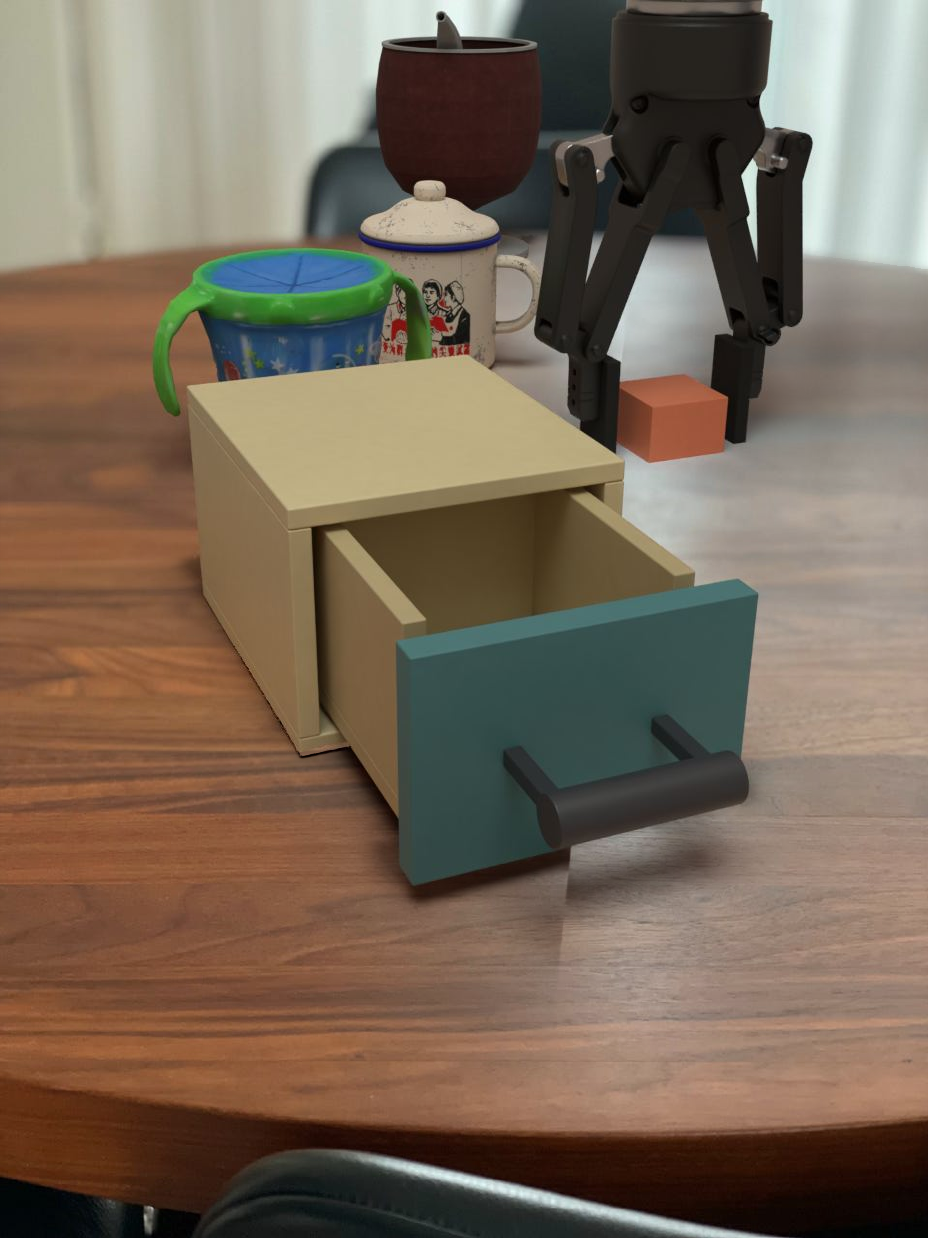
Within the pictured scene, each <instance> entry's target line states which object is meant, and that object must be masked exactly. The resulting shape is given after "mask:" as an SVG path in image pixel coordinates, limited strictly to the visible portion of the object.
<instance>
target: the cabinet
mask: <svg viewBox="0 0 928 1238" xmlns="http://www.w3.org/2000/svg"><path fill="white" fill-rule="evenodd" d="M186 399H187V403H188V404H187V413H188V424H189V425H188V426H189V427H188V428H189V440H190V447H191V448H190V449H191V452H190V453H191V461H192V462H191V463H192V474H193V487H194V496H195V497H194V499H195V500H194V501H195V511H196V512H195V513H196V524H197V538H198V550H199V563H200V572H201V574H200V575H201V580H202V581H201V583H202V585H201V586H202V596H203V597H204V598H205V600H206V602H207V604H208V605H209V607H210V608H211V610H212V612H213V613H214V615H215V617H216V618H217V621H218V622H219V623H220V625H221V627H222V628H223V630H224V632H225V633H226V635H227V637H228V638H229V640H230V642H231V643H232V645H233V647H234V646H235V647H234V648H235V650H236V649H237V650H236V652H237V651H238V652H237V654H238V653H239V654H240V655H239V654H238V655H239V657H240V656H241V657H242V659H243V660H242V659H241V660H242V661H244V662H245V664H246V665H245V664H244V665H245V667H246V666H247V667H248V668H249V670H248V672H249V671H250V672H251V673H252V675H253V677H254V678H255V679H256V682H257V683H258V685H259V686H260V688H261V690H262V691H263V693H264V694H265V696H266V699H267V700H268V701H269V703H270V704H271V706H272V708H273V709H274V710H275V712H276V714H277V716H278V717H279V719H280V720H281V722H282V724H283V725H284V727H285V728H286V730H287V732H288V734H289V736H290V737H291V739H292V741H293V742H294V744H295V745H296V747H297V749H298V750H299V752H303V751H309V750H310V749H314V748H321V747H323V746H325V745H333V744H337V743H343V742H347V740H346V739H345V737H344V736H343V734H342V733H341V731H340V730H339V728H338V727H337V725H336V724H335V722H334V721H333V719H332V718H331V716H330V715H329V713H328V712H327V710H326V709H325V707H324V706H323V704H322V703H321V701H320V700H319V693H318V670H317V647H316V624H315V601H314V578H313V555H312V532H311V528H310V527H315V526H321V525H328V524H335V523H341V522H348V521H355V520H361V519H368V518H375V517H381V516H388V515H395V514H401V513H408V512H415V511H421V510H428V509H434V508H441V507H448V506H454V505H461V504H468V503H474V502H481V501H488V500H494V499H501V498H508V497H514V496H521V495H528V494H534V493H541V492H548V491H554V490H561V489H568V488H574V487H582V488H584V489H585V490H587V491H588V492H589V493H591V494H592V495H593V496H595V497H596V498H597V499H599V500H600V501H601V502H603V503H604V504H605V505H607V506H608V507H609V508H611V509H612V510H613V511H615V512H616V513H618V514H619V515H620V516H622V517H623V509H624V508H623V507H624V506H623V505H624V491H625V490H624V487H625V481H624V479H625V466H626V461H625V459H623V458H622V457H621V456H619V455H617V453H616V454H614V453H613V452H611V451H610V450H609V449H607V448H606V447H604V446H603V445H601V444H600V443H598V442H597V441H595V440H594V439H592V438H591V437H589V436H588V435H586V434H585V433H583V432H582V431H580V428H579V429H578V427H576V426H574V425H573V424H571V423H570V422H569V421H567V420H565V419H564V418H562V417H561V416H560V415H558V414H557V413H555V412H554V411H552V410H551V409H549V408H548V407H546V406H545V405H543V404H542V403H540V402H539V401H538V400H535V398H533V397H531V396H530V395H528V394H527V393H525V392H524V391H522V390H521V389H519V388H518V387H517V386H515V385H513V384H512V383H510V382H509V381H507V380H506V379H505V378H503V377H502V376H500V375H499V374H498V373H495V372H494V371H493V370H492V369H490V368H487V367H485V366H484V365H482V364H481V363H479V362H478V361H476V360H475V359H473V358H472V357H470V356H469V355H459V356H450V357H441V358H432V359H423V360H414V361H405V362H396V363H387V364H378V365H369V366H360V367H351V368H342V369H333V370H324V371H315V372H306V373H297V374H288V375H279V376H270V377H261V378H252V379H243V380H234V381H225V382H219V381H215V382H208V383H199V384H189V385H187V386H186ZM241 657H240V658H241ZM244 662H243V663H244ZM247 667H246V668H247ZM250 672H249V673H250ZM252 675H251V676H252ZM253 677H252V678H253ZM256 682H255V683H256ZM258 685H257V686H258ZM261 690H260V691H261ZM266 699H265V700H266ZM267 700H266V701H267Z"/></svg>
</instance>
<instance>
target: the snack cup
mask: <svg viewBox="0 0 928 1238" xmlns="http://www.w3.org/2000/svg"><path fill="white" fill-rule="evenodd" d="M191 279H192V280H191V283H190V284H189V286H188V287H187V288H186V289H184V290H183V291H181V292H179V294H177V296H175V297H174V298H173V299H171V300H170V302H169V304H168V306H167V308H166V309H165V311H164V312H163V315H162V316H161V318H160V320H159V322H158V326H157V330H156V333H155V337H154V342H153V348H152V375H153V381H154V386H155V389H156V392H157V395H158V398H159V400H160V403H161V404H162V406H163V408H164V409H165V411H166V412H167V413H169V414H170V415H172V416H173V417H174V418H175V417H176V418H177V417H179V416H180V415H181V414H182V411H181V406H180V402H179V401H178V398H177V393H176V386H175V380H174V375H173V370H172V368H171V365H170V349H171V345H172V341H173V339H174V337H175V336H176V334H178V332H179V331H180V329H181V327H182V326H183V325H184V323H185V322H186V320H187V319H188V317H190V314H193V313H195V312H197V313H198V316H199V319H200V321H201V323H202V326H203V328H204V331H205V333H206V336H207V338H208V341H209V345H210V350H211V355H212V358H213V359H212V360H213V362H214V364H215V367H216V378H217V382H225V381H234V380H243V379H252V378H261V377H270V376H279V375H288V374H297V373H306V372H315V371H324V370H333V369H342V368H351V367H360V366H369V365H378V364H379V358H380V353H381V346H382V340H381V338H382V331H383V323H384V317H385V313H386V310H387V307H388V304H389V302H390V300H391V297H392V293H393V285H394V284H395V283H396V284H397V285H398V286H399V287H400V288H401V289H402V290H403V291H404V292H405V303H406V324H407V340H408V342H407V346H406V352H405V361H414V360H423V359H431V356H432V334H431V326H430V321H429V315H428V311H427V308H426V305H425V302H424V299H423V296H422V295H421V293H420V291H419V290H418V288H417V287H416V285H415V284H414V283H413V282H412V281H411V280H409V279H408V278H407V277H405V276H403V275H401V274H400V273H397V272H395V271H393V270H392V269H391V267H390V266H389V265H388V264H387V263H386V262H384V261H383V260H381V259H378V258H376V257H373V256H370V255H366V254H363V252H356V251H350V250H343V249H333V248H316V247H314V248H312V247H311V248H310V247H304V248H303V247H293V248H291V247H289V248H288V247H287V248H274V249H273V248H272V249H271V248H270V249H262V250H253V251H247V252H239V253H236V254H235V253H234V254H231V255H230V254H229V255H226V256H222V257H219V258H216V259H215V258H214V259H212V260H210V261H207V262H205V263H203V264H202V265H201V264H200V266H199V267H197V268H196V269H195V270H194V271H193V273H192V278H191Z"/></svg>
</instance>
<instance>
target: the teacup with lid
mask: <svg viewBox="0 0 928 1238" xmlns="http://www.w3.org/2000/svg"><path fill="white" fill-rule="evenodd" d="M445 194H446V187H445V185H444V184H443V183H442V182H440V181H431V180H428V181H419V182H417V183H416V184H415V186H414V195H415V196H412V197H408V198H405V199H402V200H400V201H398V202H397V203H396V204H394V205H393V206H392V207H390V208H388V209H387V210H385V211H383V212H379V213H375V214H373V215H370V216H369V217H367V218H365V219H364V220H363V221H362V223H361V225H360V230H359V231H358V238H359V240H360V241H361V243H362V254H366V255H370V256H373V257H376V258H378V259H381V260H383V261H384V262H386V263H387V264H388V265H389V266H390V267H391V269H392V270H393V271H395V272H397V273H400V274H401V275H403V276H405V277H407V278H408V279H409V280H411V281H412V282H413V283H414V284H415V285H416V287H417V288H418V290H419V291H420V293H421V295H422V296H423V299H424V302H425V305H426V308H427V311H428V315H429V321H430V326H431V334H432V356H431V359H432V358H441V357H450V356H459V355H469V356H470V357H472V358H473V359H475V360H476V361H478V362H479V363H481V364H482V365H484V366H485V367H487V368H488V369H490V368H491V366H493V364H494V362H495V359H496V335H505V334H513V333H517V332H518V331H521V330H523V329H524V328H526V327H527V326H528V325H530V324H531V322H532V321H533V320H534V319H535V318H536V312H537V305H538V298H539V291H540V285H541V278H542V272H541V271H540V269H539V268H538V267H537V266H536V265H535V264H534V263H533V262H532V261H530V260H529V259H527V258H523V257H520V256H514V255H497V242H498V241H499V240H500V238H501V234H502V232H501V231H500V227H499V225H498V223H497V222H496V220H495V219H493V218H492V217H490V216H488V215H486V214H483V213H479V212H475V211H472V210H470V209H469V208H467V207H466V206H465V205H463V204H462V203H461V202H459V201H457V200H454V199H451V198H447V197H445ZM498 268H499V269H501V268H502V269H503V268H506V269H515V270H517V271H520V272H522V273H523V274H524V275H526V277H527V278H528V279H529V281H530V283H531V287H532V295H531V300H530V304H529V306H528V307H527V310H526V311H525V312H524V313H523V314H522V315H520V316H519V317H517V318H515V319H511V320H497V280H498V279H497V277H498V276H497V275H498V274H497V271H498ZM381 340H382V346H381V353H380V358H379V364H387V363H396V362H405V352H406V346H407V342H408V340H407V324H406V303H405V292H404V291H403V290H402V289H401V288H400V287H399V286H398V285H397V284H396V283H395V284H394V285H393V293H392V297H391V300H390V302H389V304H388V307H387V310H386V313H385V317H384V323H383V331H382V338H381Z"/></svg>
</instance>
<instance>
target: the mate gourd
mask: <svg viewBox="0 0 928 1238" xmlns="http://www.w3.org/2000/svg"><path fill="white" fill-rule="evenodd" d="M435 20H436V22H437V30H436V36H435V35H433V36H411V37H410V36H409V37H397V38H390V39H385V40H383V41H381V52H380V57H379V61H378V67H377V68H378V69H377V77H376V85H375V122H376V128H377V129H376V130H377V134H378V141H379V148H380V151H381V155H382V159H383V163H384V166H385V168H386V169H387V171H388V172H389V174H390V175H391V176H392V178H393V179H394V181H395V182H396V184H397V185H398V186H399V188H400V190H402V191H403V193H407V194H408V195H411V196H412V197H415V195H414V186H415V184H416V183H417V182H419V181H428V180H431V181H440V182H442V183H443V184H444V185H445V187H446V194H445V197H447V198H451V199H454V200H457V201H459V202H461V203H462V204H463V205H465V206H466V207H467V208H469V209H470V210H472V211H474V212H475V211H477V210H479V209H481V208H482V207H485V206H486V205H488V204H492V203H493V202H495V201H497V200H499V199H501V198H504V197H506V196H508V195H510V194H513V193H514V192H515V191H516V190H517V189H518V188H519V187H520V185H521V183H522V182H523V181H524V179H525V178H526V176H527V175H528V174H529V173H530V171H531V169H532V168H533V165H534V162H535V158H536V155H537V151H538V145H539V139H540V134H541V133H540V132H541V127H542V117H543V84H542V74H541V64H540V60H539V54H538V50H537V48H538V42H536V41H532V40H528V39H521V38H511V37H497V36H496V37H495V36H468V35H467V36H466V35H465V36H463V35H460V32H459V30H458V28H457V26H456V25H455V23H454V22H453V20H452V19H451V17H450V16H449V15H447V13H446V12H445V11H443V10H439V11H437V12H436V13H435ZM527 254H528V255H529V244H528V243H527V241H525V240H523V239H521V238H517V237H515V236H511V235H507V234H502V233H501V238H500V240H499V241H498V242H497V255H514V256H520V257H523V258H525V257H526V256H527ZM527 257H528V256H527ZM527 257H526V258H527ZM526 258H525V259H526Z"/></svg>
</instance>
